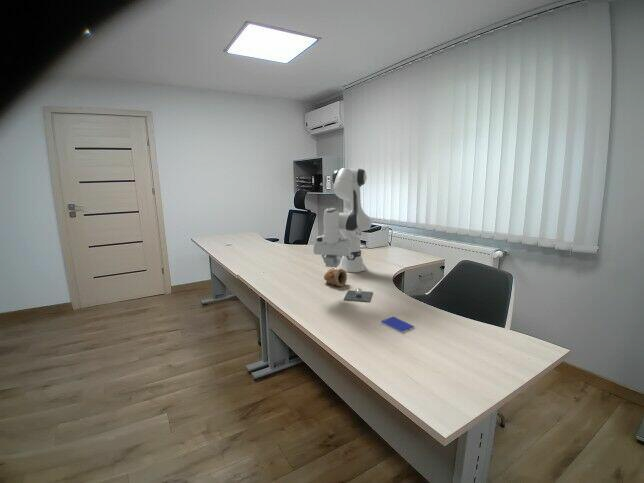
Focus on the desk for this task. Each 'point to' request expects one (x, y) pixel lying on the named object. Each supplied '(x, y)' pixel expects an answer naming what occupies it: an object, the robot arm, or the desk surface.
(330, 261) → the stepped gray block
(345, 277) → the clay pipe
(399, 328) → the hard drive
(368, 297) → the duct plate
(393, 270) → the desk surface
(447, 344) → the desk surface
